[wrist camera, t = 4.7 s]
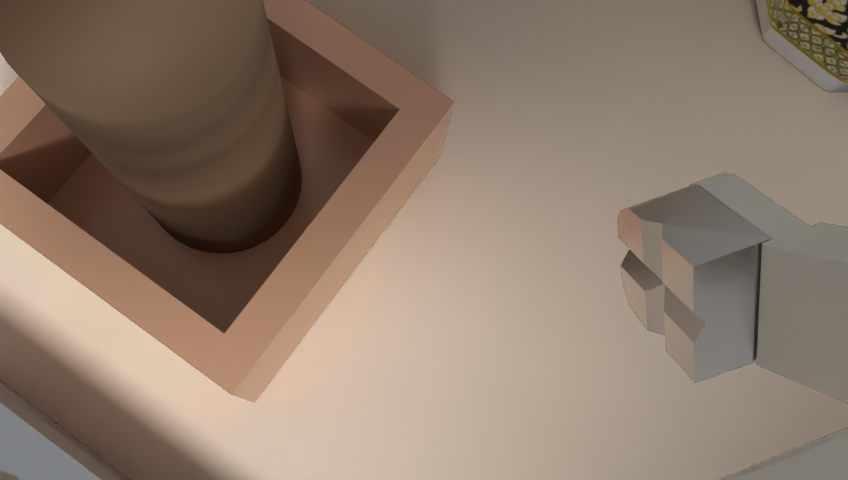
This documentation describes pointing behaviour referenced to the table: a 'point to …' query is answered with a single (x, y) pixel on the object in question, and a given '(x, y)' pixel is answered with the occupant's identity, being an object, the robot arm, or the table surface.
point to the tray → (44, 446)
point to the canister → (169, 106)
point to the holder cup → (256, 267)
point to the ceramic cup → (809, 37)
